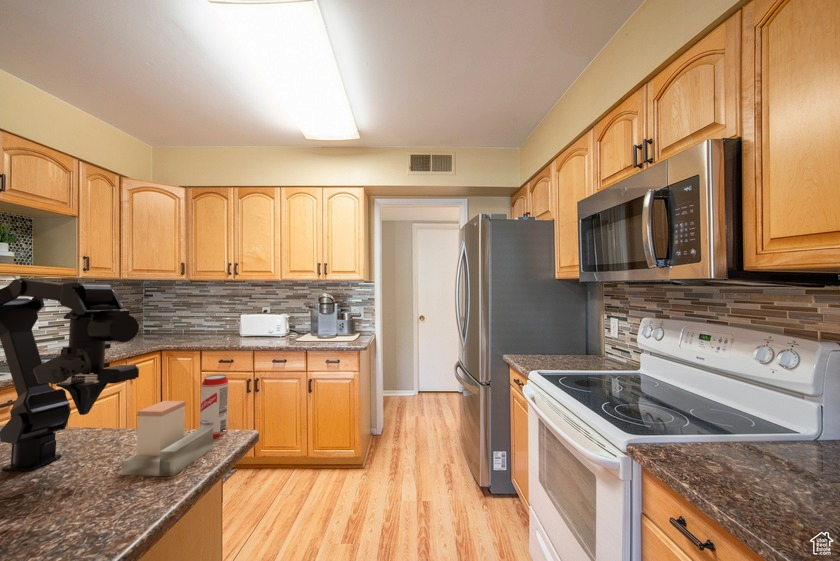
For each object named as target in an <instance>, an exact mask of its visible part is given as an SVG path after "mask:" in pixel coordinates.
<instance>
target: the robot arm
mask: <svg viewBox="0 0 840 561" xmlns="http://www.w3.org/2000/svg"><path fill="white" fill-rule="evenodd" d="M19 297H20V298H19ZM23 297H24V298H23ZM25 297H27V298H25ZM28 297H32V298H28ZM44 299H45V300H50V301H55V302H56V301H58V302H59V304H60V305H61V306H62V307H65V308H68V309H70V311H69V312H68V313H66V314H64V316H63V319H64V320H69V329H68V330H69V332H68V346H62V348H61V349H60V355H59V356H57V357H54V358H51V359H49V360H48V361H45V362H43V360H42V358H41V354H40V352H39V349H38V346H37V342H36V339H35V336H34V333H33V329H34V326H35V324H36V322H38V319H39V315H38V313H39V312H40V311H41V310H42V309H43V308H44V307H45V303H44ZM130 313H131V312H130V309H124V305H123V304H122V302H121V301H120V299H119V297H118V296H117V294H116V292H115V290H114V289H113V286H112V285H111V284H110V283H107V282H106V283H105V282H81V281H78V282H77V281H72V282H60V281H51V280H45V279H43V278H28V277H27V278H24V277H23V278H21V277H20V278H15V279H13V280H12V281H11V282H10V283H9V284H8V285H7V286H4V287H2V288H0V343H1V345H2V348H3V349H2V350H3V353H4V356H5V359H6V362H7V363H6V364H7V365H8V369H9V372H10V376H11V379H12V382H13V385H14V388H15V392H16V395H17V398H16V399H15V401H14V403H13V405H12V407H11V409H10V410H9V411H10V412H9V413H10V419H9V420H8V421H7V423H6V424H5V425H4V426H3V427H2V428H1V430H0V442H1V443H6V444H11V455H10V464H7V465H5V466H2V467H1V471H22V472H23V471H25V472H26V471H27V472H29V471H33V470H35V469H37V468H40V467H42V466H44V465H46V464H49V463H51V462H53V461H55V460H58V459H61V458H62V454H56V452H57V439H56V435H57V434H56V432H58V431H63V430H66V428H67V424H68V422H69V418H70V415H71V411H72V409H71V406H70V404H71V403H70V401H69V400H68V397H67V393H66V391H67V392H68V393H69V395H70V396H71V398H72V400H73V403H74V405H75V407H76V410H77V412H78V414H79V415H80V416H85V415H88V414H89V412H90V411H91V410H92V408H93V406H94V405H95V404H96V402H97V400H98V398H99V397H100V395H101V393H102V392H103V391H104V389H105V388H106V387H107V385H108V384H110V385H112V384H120V383H123V382H127V381H130V380H134V379H137V378H139V374H140V369H139V368H140V367H138V366H137V365H136V364H118V365H113V366H110V365H111V362H110V361H106V350H108V349H109V350H110V349H111V345H112V344H111V343H127V342H129V341H131V340H134V338H135V337H136V336H137V334H138V333H139V329H140V325H139V323H138V321H137V319H136V318H135V317H134V316H132V315H130ZM106 342H108V343H106ZM109 342H110V343H109ZM50 384H52V385H56V387H58V388H59V389H55V388H54V387H53V386H51V385H50Z"/></svg>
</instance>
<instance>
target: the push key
mask: <svg viewBox="0 0 840 561" xmlns="http://www.w3.org/2000/svg"><path fill="white" fill-rule="evenodd" d="M186 403H187V401H186V400H163V401H160V402H157V403H155V404H153V405H150V406H147V407H144V408H142V409H140V410H138V411H137V412H136V415H137V416H136V417H137V437H136V455H142V456H160V451H162V450H163V449H165V448H167V447H169V446H170V445H172V444H174V443H175V442H177V441H179V440H181V439H182V438H184V436H185V413H186Z"/></svg>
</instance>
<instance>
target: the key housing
mask: <svg viewBox="0 0 840 561" xmlns="http://www.w3.org/2000/svg"><path fill="white" fill-rule="evenodd" d="M213 439H214V437H213V428H200V427H199V428H198V429H197V430H195V431H193V432H191V433H190V434H187V435H184V438H182V439H181V440H179V441H177V442H175V443H174V444H172V445H170V446H169V447H167V448H165V449H163V450H162V451H160V456H142V455H135V454H134V455H129V456H128V457H126V458H124V459H122V460H121V467H120V468H121V471H120V475H121V476H159V477H161V476H165V477H166V476H171V477H172V476H173V477H174V476H175V475H178V473H180V472H181V471H183V470H184V469H186V468H187V467H188V466H190V465H191V464H192V463H194V462H196V461H197V460H199V459H200V458H201V457H202V456H204V455H205V454H207V453H208V452H210V451H211V450H212V449H213V443H214V440H213Z"/></svg>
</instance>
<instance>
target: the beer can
mask: <svg viewBox="0 0 840 561" xmlns="http://www.w3.org/2000/svg"><path fill="white" fill-rule="evenodd" d="M203 378H204V380H203V381H202V383H201V387H200V389H201V390H200V392H201V393H200V410H199V412H200V413H199V414H200V415H199V416H200V418H199V429H200V428H213V438H217V437H221V436H223V435H225V434H227V432H228V422H229V420H228V419H229V418H228V417H229V416H228V415H229V389H230V388H229V384H230V383H229V380H228V378H227V375H226V374H220V373H219V374H211V375H207V376H204V377H203ZM223 430H227V431H223Z"/></svg>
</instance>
